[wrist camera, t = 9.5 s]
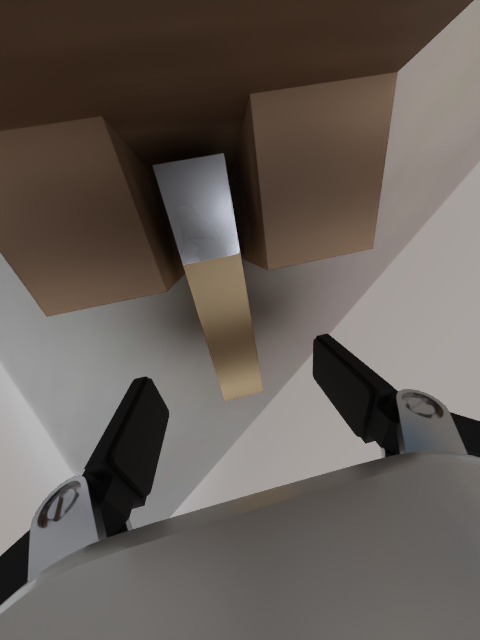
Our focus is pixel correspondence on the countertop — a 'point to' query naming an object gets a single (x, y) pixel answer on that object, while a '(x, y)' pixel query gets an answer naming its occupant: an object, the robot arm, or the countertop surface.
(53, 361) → the countertop surface
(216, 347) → the silver and tan rail
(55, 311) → the wooden two-prong bracket
